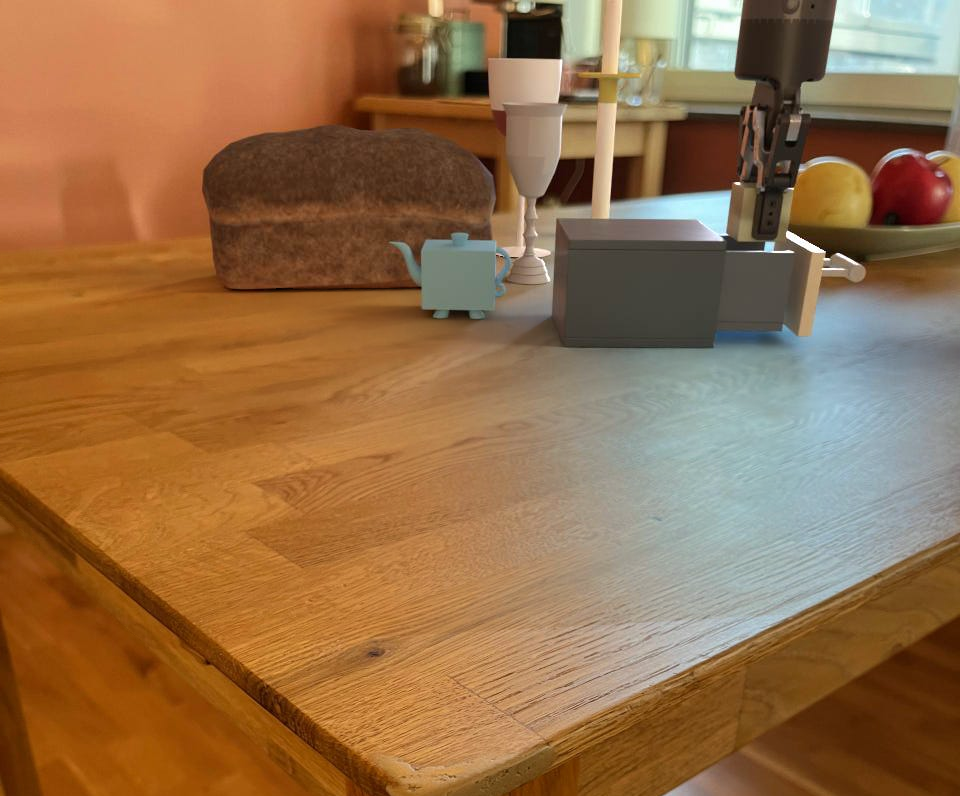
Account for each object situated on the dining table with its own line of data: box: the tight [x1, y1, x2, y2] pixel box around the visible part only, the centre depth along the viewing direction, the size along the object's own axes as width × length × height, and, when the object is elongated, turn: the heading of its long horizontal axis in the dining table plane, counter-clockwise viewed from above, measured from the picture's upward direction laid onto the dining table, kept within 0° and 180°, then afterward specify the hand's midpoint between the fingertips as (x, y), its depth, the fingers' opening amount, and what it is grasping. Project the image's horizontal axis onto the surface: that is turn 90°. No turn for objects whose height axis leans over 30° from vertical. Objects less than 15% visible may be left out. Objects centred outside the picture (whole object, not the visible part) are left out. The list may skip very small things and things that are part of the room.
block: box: [725, 181, 795, 243], centre depth 92 cm, size 4×4×4 cm
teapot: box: [389, 233, 512, 320], centre depth 101 cm, size 12×6×8 cm, turn 89°
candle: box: [576, 0, 643, 219], centre depth 135 cm, size 10×10×38 cm
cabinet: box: [551, 217, 727, 349], centre depth 95 cm, size 14×13×9 cm
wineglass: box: [487, 57, 563, 258], centre depth 127 cm, size 9×10×22 cm
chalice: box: [502, 102, 568, 285], centre depth 113 cm, size 7×7×18 cm
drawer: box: [716, 231, 867, 338], centre depth 95 cm, size 18×11×7 cm, turn 91°
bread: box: [201, 124, 497, 290], centre depth 113 cm, size 15×32×16 cm, turn 98°
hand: (756, 234), depth 93 cm, fingers closed on block, 4 cm apart
